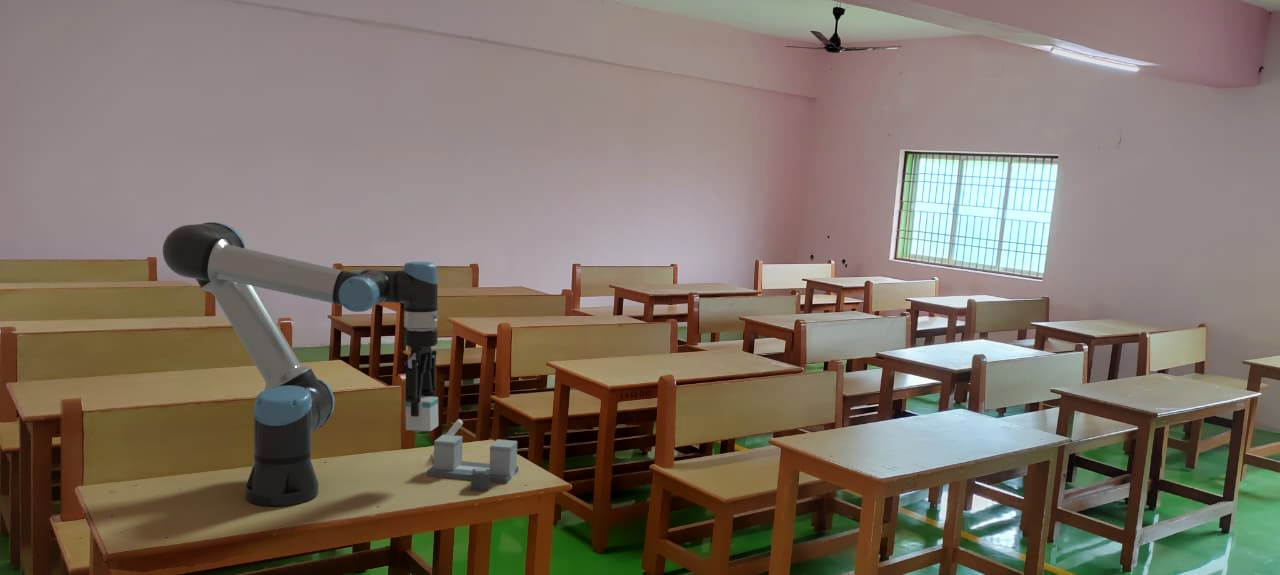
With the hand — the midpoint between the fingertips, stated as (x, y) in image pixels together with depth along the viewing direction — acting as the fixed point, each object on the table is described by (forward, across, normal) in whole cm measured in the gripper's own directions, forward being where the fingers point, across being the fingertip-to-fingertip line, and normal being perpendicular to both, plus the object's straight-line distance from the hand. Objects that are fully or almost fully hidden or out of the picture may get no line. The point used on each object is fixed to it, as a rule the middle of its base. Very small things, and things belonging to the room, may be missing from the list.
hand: (421, 425), depth 218 cm
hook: (+14, +21, +2) cm, 25 cm away
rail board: (+14, +9, -10) cm, 19 cm away
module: (0, 0, 0) cm, 1 cm away
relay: (+14, 0, -15) cm, 20 cm away
